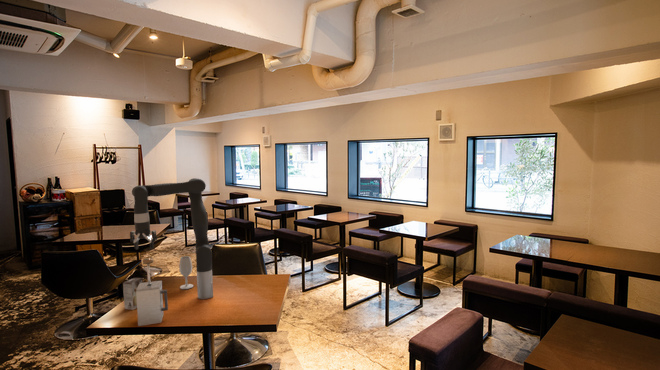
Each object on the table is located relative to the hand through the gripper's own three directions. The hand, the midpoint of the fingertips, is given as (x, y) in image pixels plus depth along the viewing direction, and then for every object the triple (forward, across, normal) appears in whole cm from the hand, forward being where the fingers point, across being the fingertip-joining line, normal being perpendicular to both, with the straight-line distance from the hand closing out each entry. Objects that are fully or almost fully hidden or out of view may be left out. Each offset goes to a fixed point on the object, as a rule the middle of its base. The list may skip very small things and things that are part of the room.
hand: (144, 248), depth 202 cm
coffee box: (+36, +12, -6) cm, 39 cm away
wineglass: (+37, -6, -37) cm, 52 cm away
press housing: (+36, -9, +12) cm, 39 cm away
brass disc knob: (+23, -8, +12) cm, 27 cm away
